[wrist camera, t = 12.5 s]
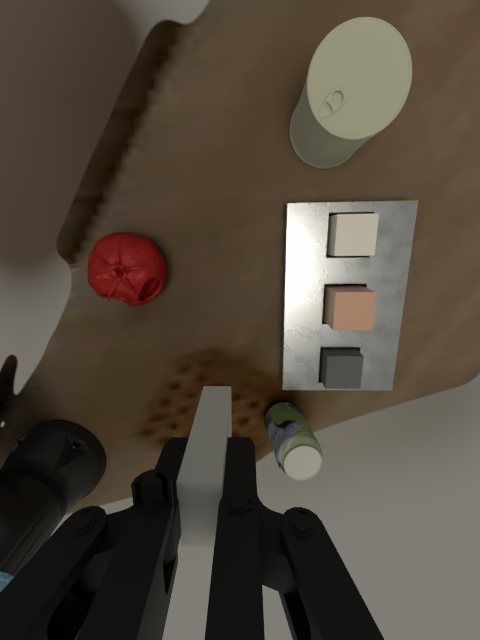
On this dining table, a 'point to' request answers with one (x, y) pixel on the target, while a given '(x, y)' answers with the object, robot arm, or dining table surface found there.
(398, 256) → the key panel
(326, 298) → the terracotta key
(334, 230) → the cream key
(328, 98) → the can
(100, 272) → the pomegranate
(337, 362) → the charcoal key
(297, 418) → the beverage can
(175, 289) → the dining table surface
